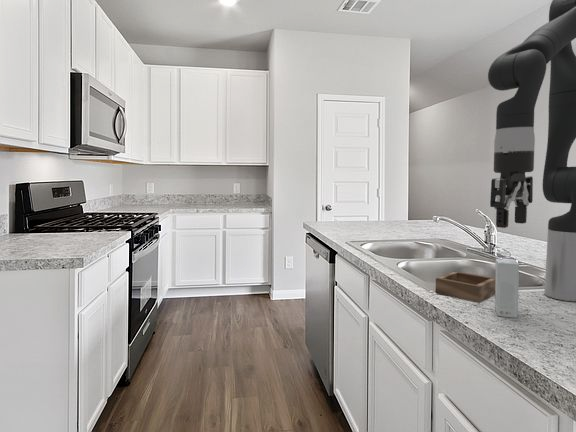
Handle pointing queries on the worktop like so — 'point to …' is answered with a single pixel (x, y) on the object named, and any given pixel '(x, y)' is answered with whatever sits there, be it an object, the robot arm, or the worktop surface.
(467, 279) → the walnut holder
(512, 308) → the skincare box
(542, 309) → the worktop surface
